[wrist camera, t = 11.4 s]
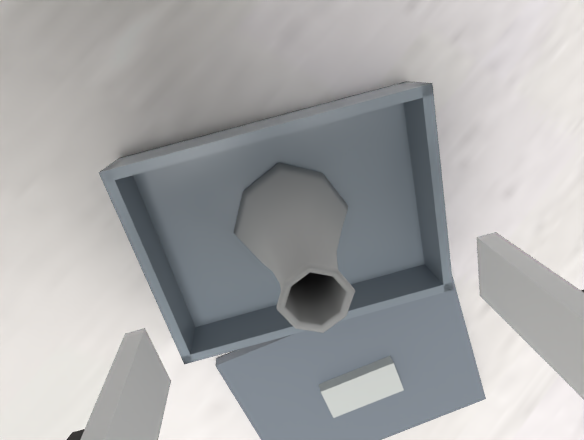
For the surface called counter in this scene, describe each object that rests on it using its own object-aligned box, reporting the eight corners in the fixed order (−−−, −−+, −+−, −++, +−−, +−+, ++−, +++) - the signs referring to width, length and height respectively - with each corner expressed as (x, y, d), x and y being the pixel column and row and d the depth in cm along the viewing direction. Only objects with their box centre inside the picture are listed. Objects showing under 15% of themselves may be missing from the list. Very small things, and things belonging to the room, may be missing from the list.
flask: (214, 235, 26) (197, 329, 16) (273, 141, 24) (291, 187, 15) (305, 283, 28) (335, 391, 18) (366, 200, 26) (433, 272, 17)
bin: (118, 158, 24) (98, 172, 21) (406, 81, 24) (432, 83, 21) (191, 330, 29) (184, 364, 25) (429, 265, 29) (453, 289, 26)
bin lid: (216, 358, 30) (214, 373, 28) (445, 265, 29) (456, 275, 28) (283, 468, 35) (285, 486, 33) (480, 391, 34) (491, 406, 33)
